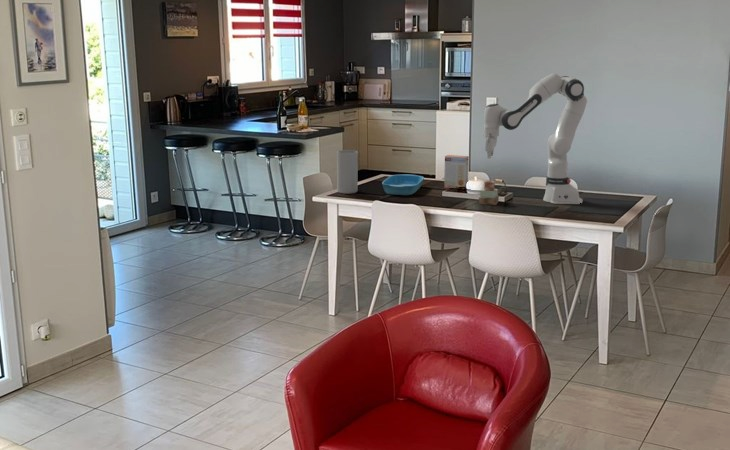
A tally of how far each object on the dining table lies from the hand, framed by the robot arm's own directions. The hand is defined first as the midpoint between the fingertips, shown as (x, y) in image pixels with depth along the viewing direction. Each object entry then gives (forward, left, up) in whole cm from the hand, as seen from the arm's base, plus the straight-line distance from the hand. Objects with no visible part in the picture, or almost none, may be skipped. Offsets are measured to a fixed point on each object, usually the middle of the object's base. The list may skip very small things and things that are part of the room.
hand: (490, 156), depth 457 cm
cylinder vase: (+88, -7, -27) cm, 92 cm away
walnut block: (0, -1, -27) cm, 27 cm away
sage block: (0, -1, -23) cm, 23 cm away
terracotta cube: (0, 0, -19) cm, 19 cm away
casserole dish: (+56, -21, -27) cm, 66 cm away
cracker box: (+25, -35, -27) cm, 51 cm away
